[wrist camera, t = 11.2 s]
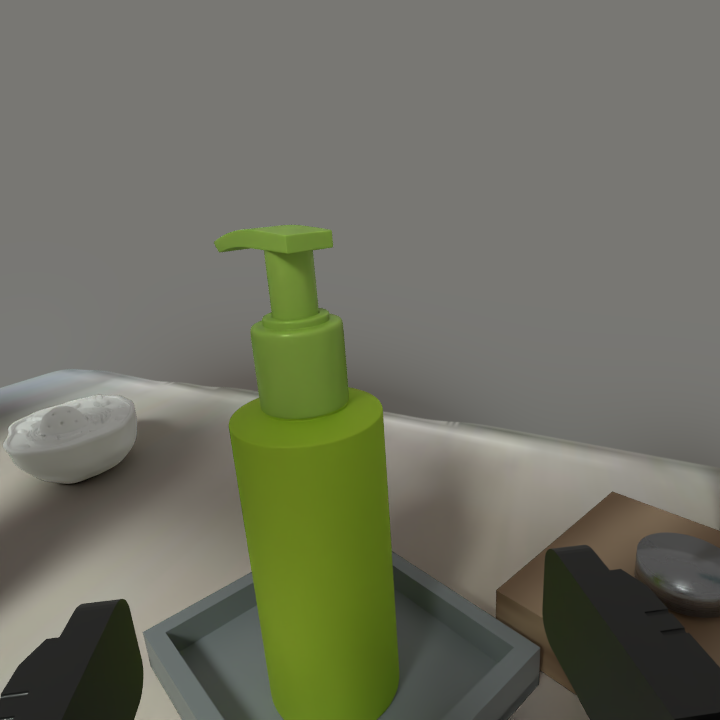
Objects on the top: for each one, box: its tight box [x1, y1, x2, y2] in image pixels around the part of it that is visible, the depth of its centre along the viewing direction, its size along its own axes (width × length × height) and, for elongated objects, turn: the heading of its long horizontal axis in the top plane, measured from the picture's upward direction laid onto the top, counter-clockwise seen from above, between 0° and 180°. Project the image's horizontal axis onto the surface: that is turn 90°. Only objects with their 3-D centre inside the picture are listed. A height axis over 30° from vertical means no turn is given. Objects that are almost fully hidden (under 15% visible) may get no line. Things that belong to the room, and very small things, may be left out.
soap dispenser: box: [214, 225, 399, 720], centre depth 22 cm, size 6×7×20 cm
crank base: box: [496, 492, 720, 695], centre depth 26 cm, size 12×18×9 cm
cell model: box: [3, 394, 137, 484], centre depth 46 cm, size 10×12×7 cm
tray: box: [143, 552, 540, 720], centre depth 25 cm, size 14×13×2 cm
